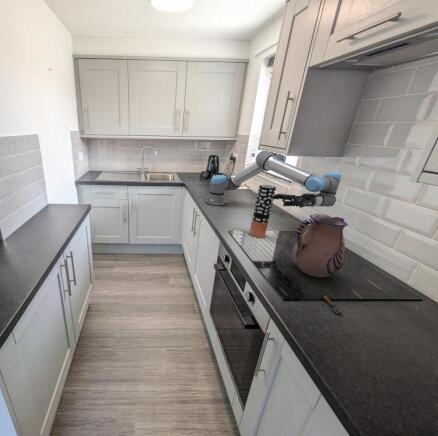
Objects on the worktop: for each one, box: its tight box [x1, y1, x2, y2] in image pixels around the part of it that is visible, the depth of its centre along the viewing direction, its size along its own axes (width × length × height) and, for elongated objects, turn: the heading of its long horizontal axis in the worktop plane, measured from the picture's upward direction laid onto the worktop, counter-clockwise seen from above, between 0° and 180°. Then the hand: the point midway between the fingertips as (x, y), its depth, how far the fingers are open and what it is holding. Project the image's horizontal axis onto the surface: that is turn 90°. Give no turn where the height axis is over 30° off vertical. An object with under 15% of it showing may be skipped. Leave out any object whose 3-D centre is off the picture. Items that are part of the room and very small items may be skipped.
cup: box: [249, 218, 269, 239], centre depth 135 cm, size 8×8×9 cm
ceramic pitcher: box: [291, 212, 348, 278], centre depth 95 cm, size 18×21×25 cm
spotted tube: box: [252, 184, 277, 224], centre depth 129 cm, size 8×8×20 cm
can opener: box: [322, 294, 342, 315], centre depth 80 cm, size 9×2×1 cm, turn 170°
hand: (276, 200), depth 130 cm, fingers open, 13 cm apart
